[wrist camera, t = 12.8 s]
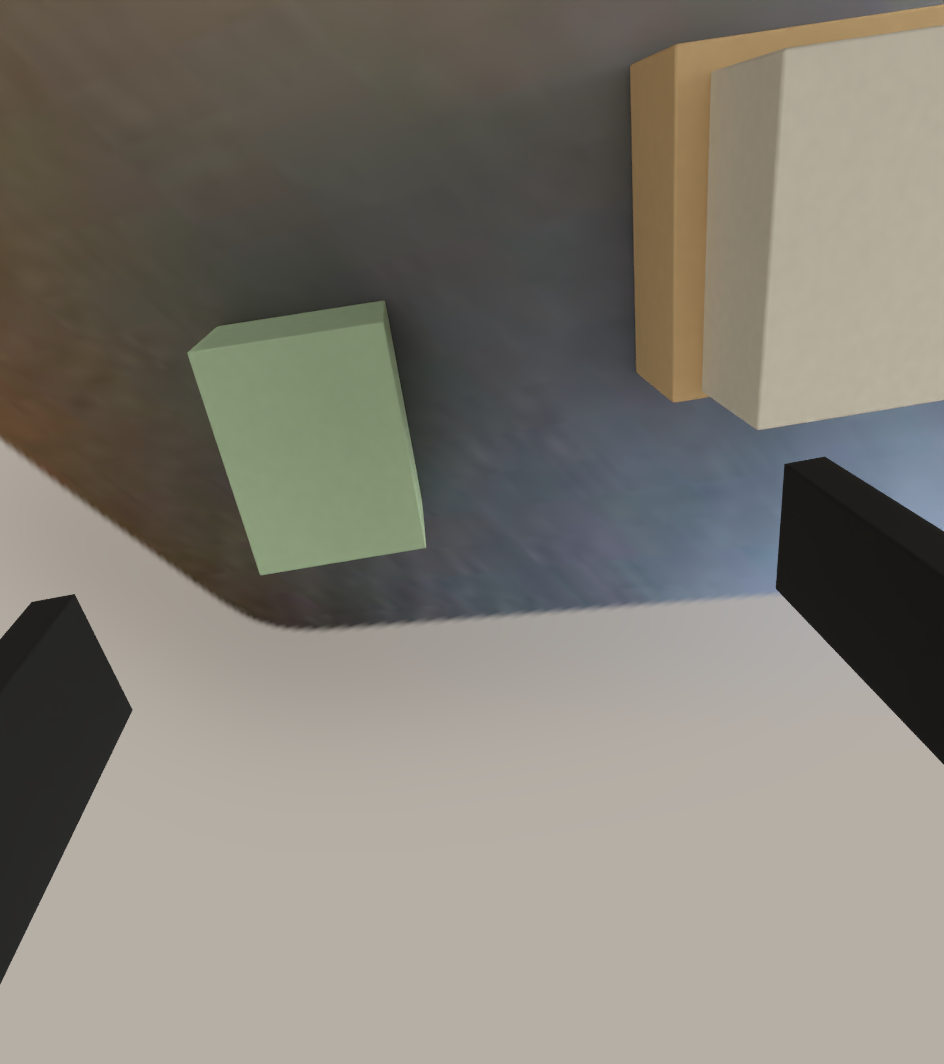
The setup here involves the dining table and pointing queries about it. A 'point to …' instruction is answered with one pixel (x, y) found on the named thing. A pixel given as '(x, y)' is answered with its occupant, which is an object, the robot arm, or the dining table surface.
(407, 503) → the green rectangular block
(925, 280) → the middle pad
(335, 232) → the dining table surface
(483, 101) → the dining table surface
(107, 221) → the dining table surface
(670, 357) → the base pad
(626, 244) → the dining table surface
